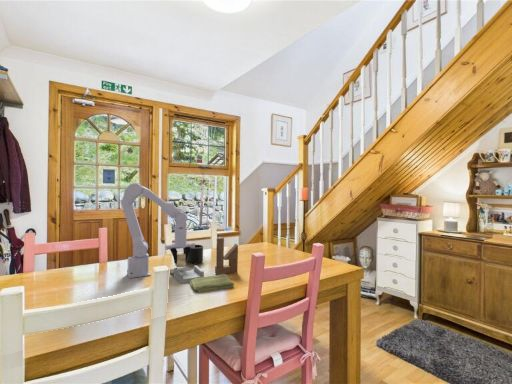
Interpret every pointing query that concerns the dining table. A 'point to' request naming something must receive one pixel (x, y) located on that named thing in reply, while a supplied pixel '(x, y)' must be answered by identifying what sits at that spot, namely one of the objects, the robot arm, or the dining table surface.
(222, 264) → the brown angular piece
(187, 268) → the pad
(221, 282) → the washcloth
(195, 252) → the mug
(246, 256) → the dining table surface
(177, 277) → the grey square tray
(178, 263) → the block
